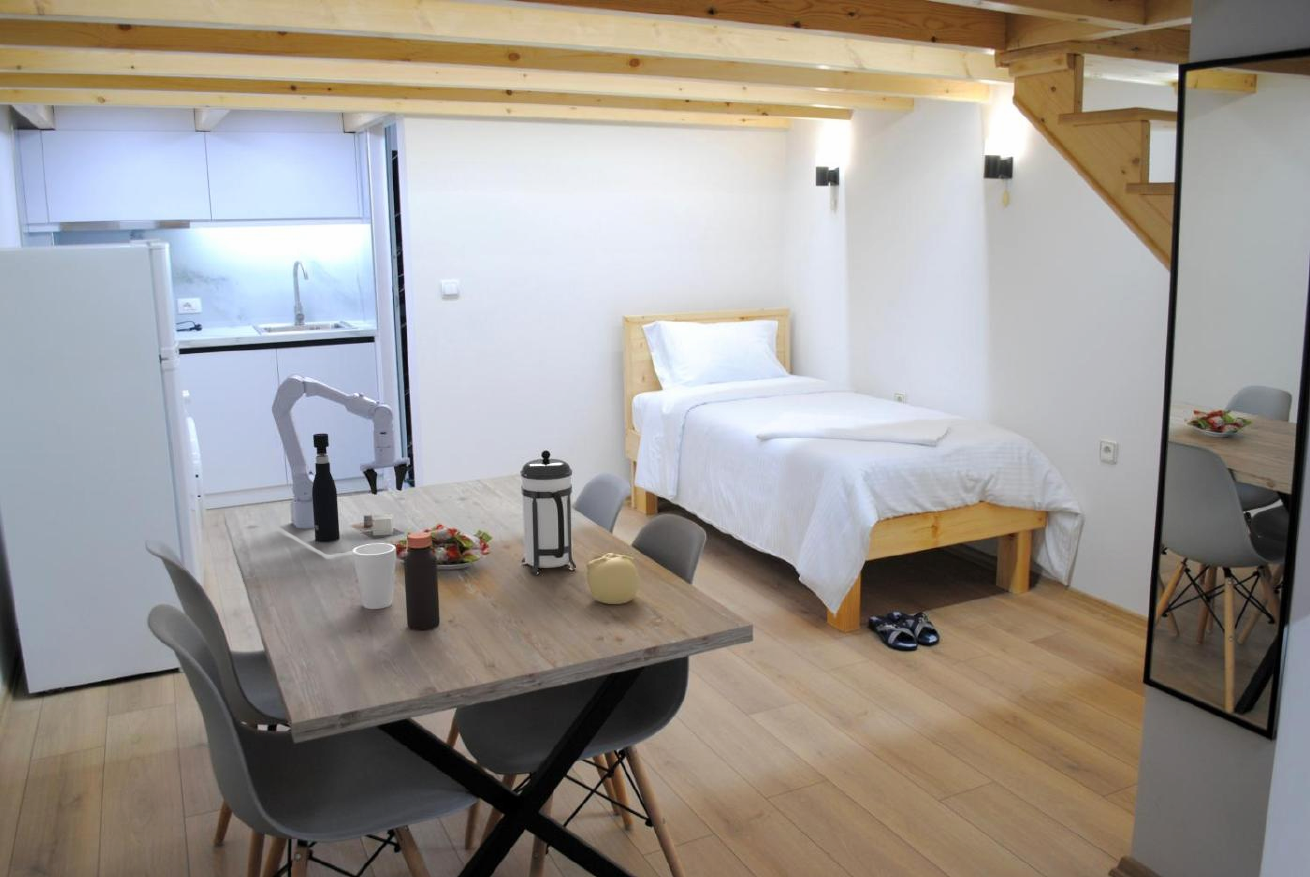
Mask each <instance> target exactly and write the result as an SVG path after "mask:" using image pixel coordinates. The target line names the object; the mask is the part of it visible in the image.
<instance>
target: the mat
mask: <svg viewBox="0 0 1310 877" xmlns="http://www.w3.org/2000/svg"><path fill="white" fill-rule="evenodd" d="M360 532H361V534H364V535H366V536H368V537H369V538H372V539H373V540H378V539H382V538H383V539H384V538H388V537H389V538H390V537H393V536H394V537H395V536H399V535H405V534H406V533H405V532H404V531H401V530H399V529H397V528H395V527H394V530H393V533H392V535H373V529H370V530H365V531H360Z"/></svg>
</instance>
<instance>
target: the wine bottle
mask: <svg viewBox="0 0 1310 877" xmlns="http://www.w3.org/2000/svg"><path fill="white" fill-rule="evenodd" d="M312 437H313V438H312V439H313V448H316V457H315V459H316V460H315V463H314V465H315V466H314V467H315V473H314V474H315V478H314V482H313V487H312V499H313V513H314V527H313V528H314V538H315V539H314V540H315V542H318V543H331V542H335V541H336V542H337V541H338V540H340V537H341V535H340V523H339V522H340V521H339V506H338V505H339V504H338V492H337V491H338V490H337V486H336V482H335V480H334V477H333V474H332V473H331V463H330V461H329V455H327V454H328V452H327V448H329V447H330V444H329V442H330V441H329V434H328V433H315V434H313V435H312Z"/></svg>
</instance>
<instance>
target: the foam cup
mask: <svg viewBox="0 0 1310 877" xmlns="http://www.w3.org/2000/svg"><path fill="white" fill-rule="evenodd" d="M396 559H397V549H396V546H395V545H393V544H392V543H383V542H378V543H377V542H374V543H367V544H362V545H358V546H355V547H354V548H353V549H352V562H353V564H354V566H355V573H356V577H357V581H358V587H359V592H360V596H361V600H362V601H361V602H362V606H363V608H365V609H368V610H369V609H370V610H379V609H384V608H387V607H390V606H391V605H392V604H393V596H394V593H393V592H394V583H395V582H394V581H395V570H396Z"/></svg>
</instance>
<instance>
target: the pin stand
mask: <svg viewBox="0 0 1310 877" xmlns="http://www.w3.org/2000/svg"><path fill="white" fill-rule="evenodd" d="M372 520H373V514H367V513H366V514H364V515H363V522H359V523H354V524H349V526H350V527H351V528H354V529H356V530H359V531H360V532H365V531H370V530H373V521H372Z"/></svg>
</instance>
